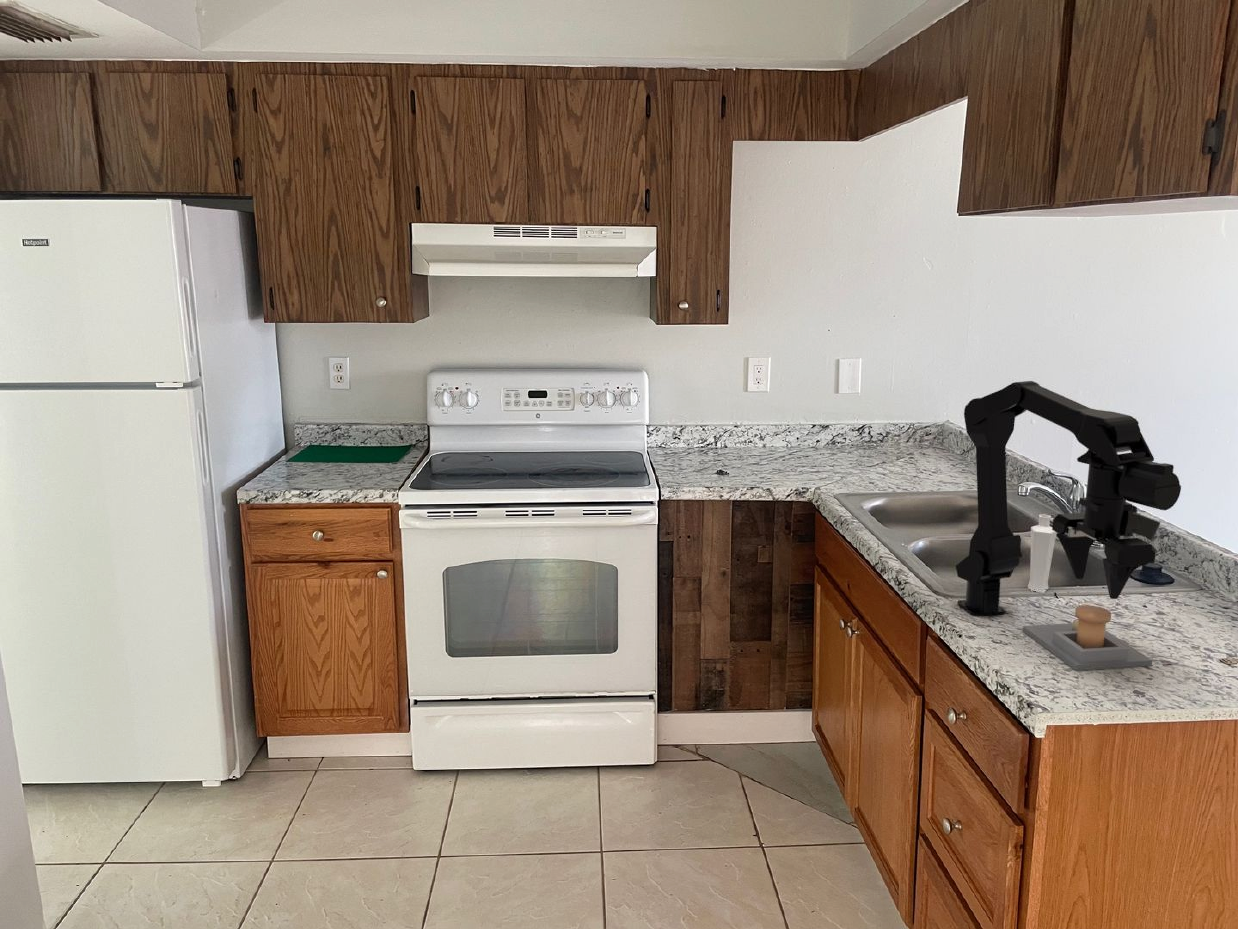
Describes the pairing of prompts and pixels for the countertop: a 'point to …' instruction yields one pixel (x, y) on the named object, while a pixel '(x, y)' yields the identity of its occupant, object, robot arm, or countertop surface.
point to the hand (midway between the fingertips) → (1096, 588)
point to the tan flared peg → (1091, 626)
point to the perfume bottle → (1041, 554)
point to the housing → (1065, 648)
